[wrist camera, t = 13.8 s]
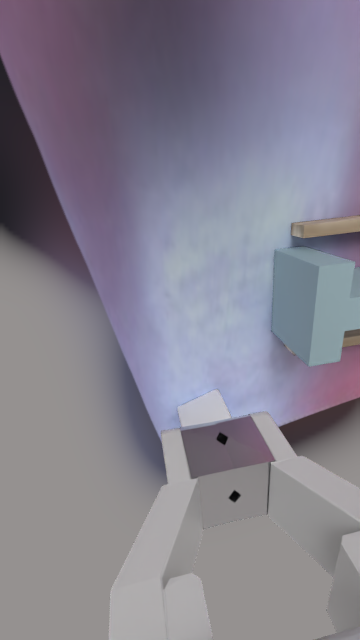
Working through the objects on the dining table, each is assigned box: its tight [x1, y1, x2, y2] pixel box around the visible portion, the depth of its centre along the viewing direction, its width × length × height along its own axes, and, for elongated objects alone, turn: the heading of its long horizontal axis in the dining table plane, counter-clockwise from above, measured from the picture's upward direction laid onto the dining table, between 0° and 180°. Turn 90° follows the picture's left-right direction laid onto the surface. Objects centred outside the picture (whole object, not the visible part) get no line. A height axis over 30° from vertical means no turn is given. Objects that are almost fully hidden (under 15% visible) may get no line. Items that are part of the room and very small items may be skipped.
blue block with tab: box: [271, 246, 360, 367], centre depth 38 cm, size 12×14×10 cm
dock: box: [284, 215, 360, 355], centre depth 42 cm, size 18×15×3 cm
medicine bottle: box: [177, 389, 232, 427], centre depth 43 cm, size 7×7×12 cm
